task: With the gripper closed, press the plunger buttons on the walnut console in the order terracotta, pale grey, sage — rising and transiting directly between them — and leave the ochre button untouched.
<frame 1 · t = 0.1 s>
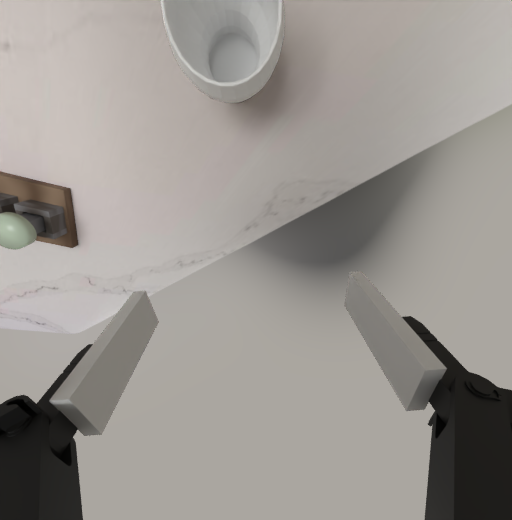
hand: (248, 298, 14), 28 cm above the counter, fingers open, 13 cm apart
sage button: (22, 226, 33), point 7 cm above the counter, slide at 0.0 cm
cup: (234, 69, 30), on the counter
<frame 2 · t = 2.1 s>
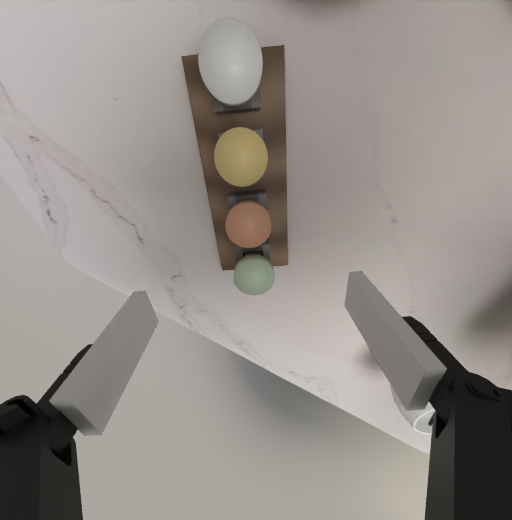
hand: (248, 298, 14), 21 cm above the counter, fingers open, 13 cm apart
sage button: (253, 268, 30), point 7 cm above the counter, slide at 0.0 cm
cup: (389, 343, 48), on the counter
grey button: (233, 73, 20), point 7 cm above the counter, slide at 0.0 cm
ochre button: (242, 157, 23), point 7 cm above the counter, slide at 0.0 cm
panel: (246, 181, 30), on the counter
terracotta button: (248, 219, 26), point 7 cm above the counter, slide at 0.0 cm
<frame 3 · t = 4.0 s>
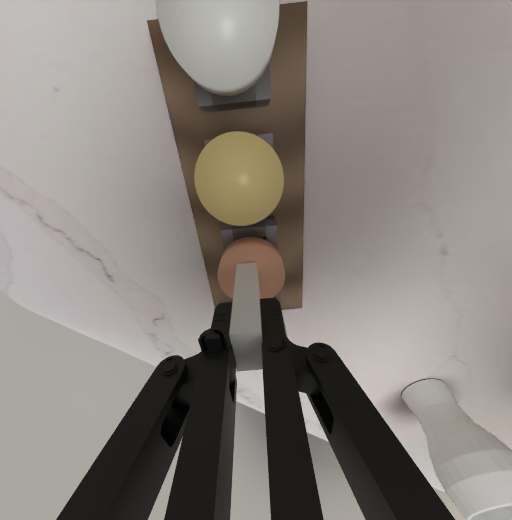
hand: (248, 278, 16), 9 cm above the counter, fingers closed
sage button: (258, 324, 21), point 7 cm above the counter, slide at 0.0 cm
cup: (422, 389, 40), on the counter
grey button: (225, 38, 11), point 7 cm above the counter, slide at 0.0 cm
ochre button: (241, 177, 15), point 7 cm above the counter, slide at 0.0 cm
panel: (248, 203, 22), on the counter
terracotta button: (251, 260, 19), point 6 cm above the counter, slide at 0.7 cm, touching gripper
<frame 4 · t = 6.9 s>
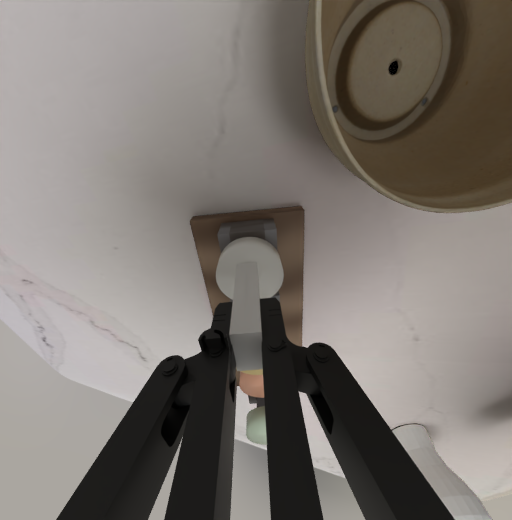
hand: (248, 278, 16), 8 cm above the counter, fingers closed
planter bowl: (380, 72, 17), on the counter
sage button: (267, 409, 27), point 7 cm above the counter, slide at 0.0 cm
cup: (405, 431, 46), on the counter
grey button: (249, 260, 19), point 5 cm above the counter, slide at 1.7 cm, touching gripper
ochre button: (257, 332, 20), point 7 cm above the counter, slide at 0.0 cm
panel: (258, 311, 28), on the counter
terracotta button: (262, 362, 25), point 5 cm above the counter, slide at 1.8 cm
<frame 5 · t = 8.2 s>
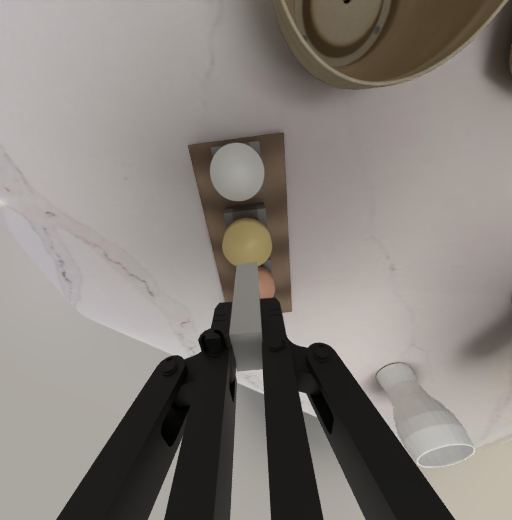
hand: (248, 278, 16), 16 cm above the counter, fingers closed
planter bowl: (339, 6, 21), on the counter
cup: (392, 372, 50), on the counter
grey button: (238, 170, 23), point 5 cm above the counter, slide at 1.8 cm
ochre button: (247, 237, 24), point 7 cm above the counter, slide at 0.0 cm
panel: (250, 241, 32), on the counter
terracotta button: (254, 278, 29), point 5 cm above the counter, slide at 1.8 cm
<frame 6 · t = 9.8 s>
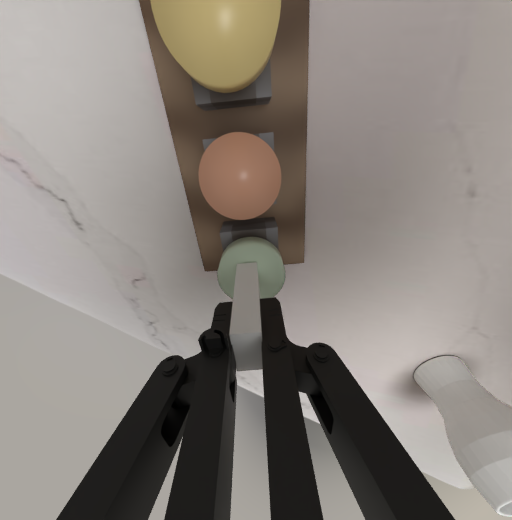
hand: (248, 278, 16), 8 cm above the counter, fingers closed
sage button: (251, 260, 19), point 5 cm above the counter, slide at 1.3 cm
cup: (436, 369, 36), on the counter
ochre button: (223, 32, 11), point 7 cm above the counter, slide at 0.0 cm
panel: (239, 124, 18), on the counter
terracotta button: (241, 174, 16), point 5 cm above the counter, slide at 1.8 cm
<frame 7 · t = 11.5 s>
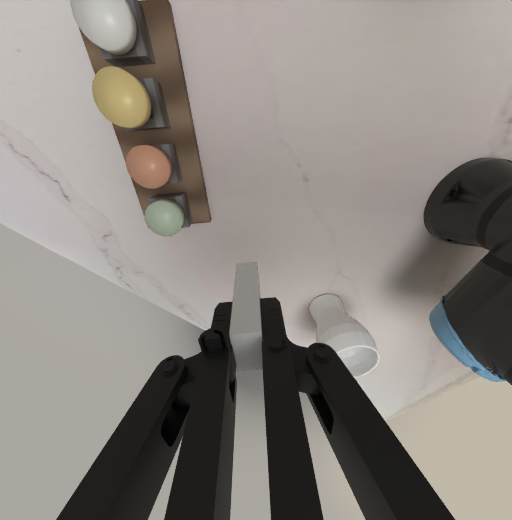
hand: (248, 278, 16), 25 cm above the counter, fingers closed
sage button: (168, 214, 33), point 5 cm above the counter, slide at 1.8 cm
cup: (324, 305, 51), on the counter
grey button: (114, 25, 23), point 5 cm above the counter, slide at 1.8 cm
ochre button: (130, 102, 25), point 7 cm above the counter, slide at 0.0 cm
panel: (159, 137, 32), on the counter
terracotta button: (154, 165, 30), point 5 cm above the counter, slide at 1.8 cm
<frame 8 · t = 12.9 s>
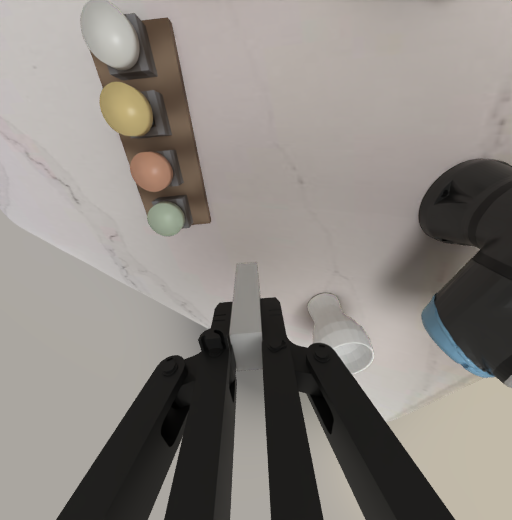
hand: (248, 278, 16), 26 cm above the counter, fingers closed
sage button: (170, 215, 35), point 5 cm above the counter, slide at 1.8 cm
cup: (322, 304, 52), on the counter
grey button: (119, 43, 25), point 5 cm above the counter, slide at 1.8 cm
ochre button: (134, 113, 27), point 7 cm above the counter, slide at 0.0 cm
panel: (161, 144, 35), on the counter
terracotta button: (157, 170, 32), point 5 cm above the counter, slide at 1.8 cm
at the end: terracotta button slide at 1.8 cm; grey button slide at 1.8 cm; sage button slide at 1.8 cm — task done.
